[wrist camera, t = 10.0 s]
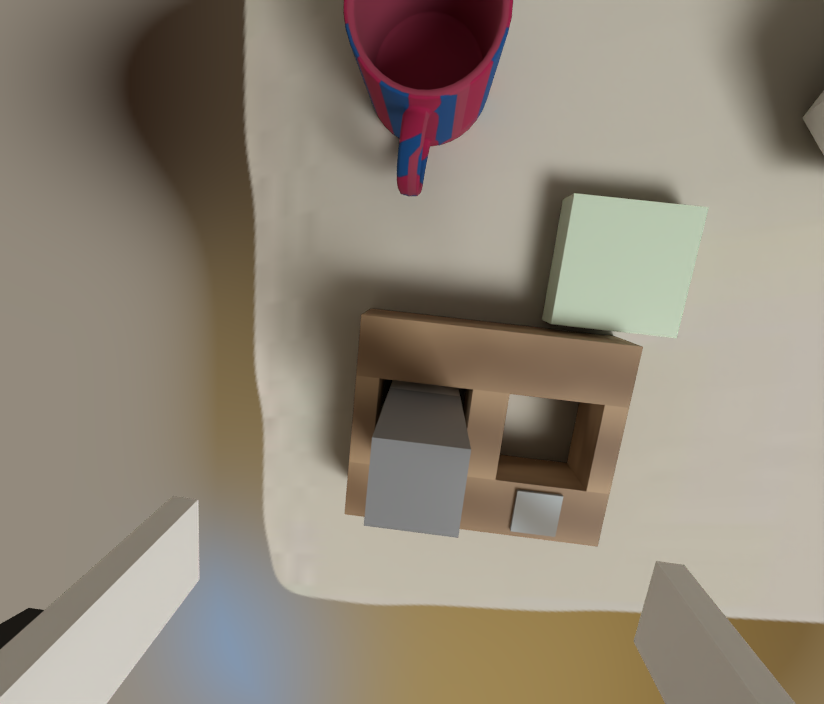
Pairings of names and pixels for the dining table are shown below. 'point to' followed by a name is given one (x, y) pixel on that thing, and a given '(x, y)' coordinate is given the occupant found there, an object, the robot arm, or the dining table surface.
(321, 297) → the dining table surface
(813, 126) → the die
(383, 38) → the mug
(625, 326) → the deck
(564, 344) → the socket block
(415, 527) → the plug
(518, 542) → the dining table surface
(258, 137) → the dining table surface
